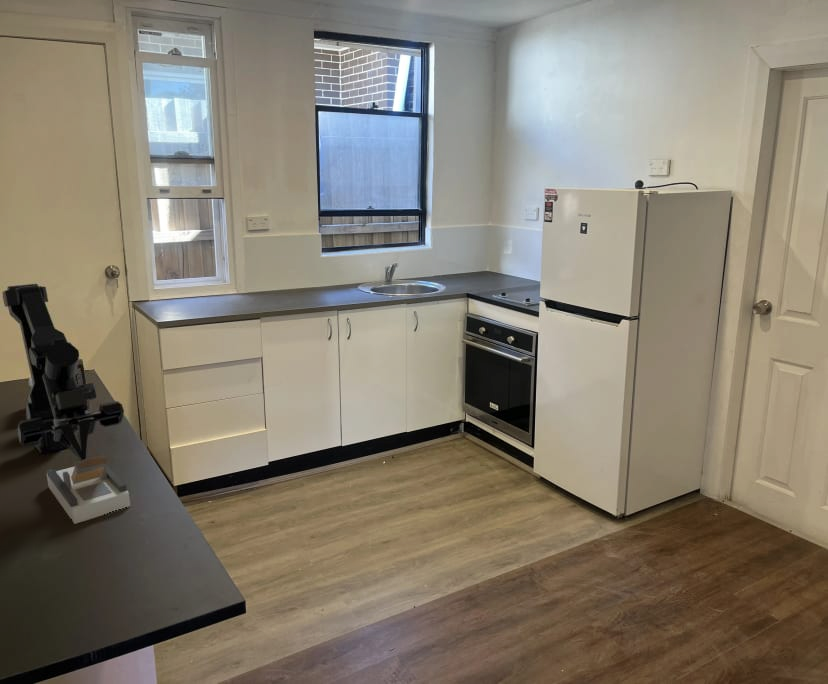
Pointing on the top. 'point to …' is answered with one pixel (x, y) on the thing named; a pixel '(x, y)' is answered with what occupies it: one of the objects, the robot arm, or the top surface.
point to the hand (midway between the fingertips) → (83, 459)
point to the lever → (88, 469)
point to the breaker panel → (88, 494)
